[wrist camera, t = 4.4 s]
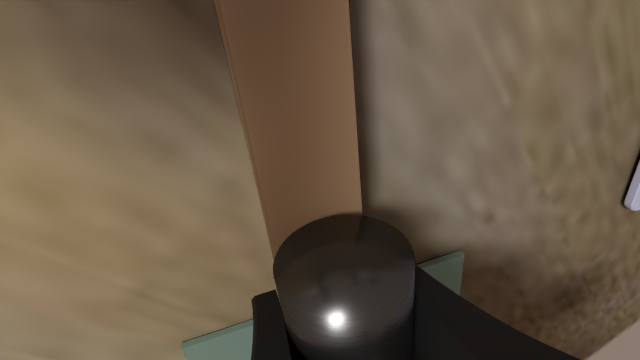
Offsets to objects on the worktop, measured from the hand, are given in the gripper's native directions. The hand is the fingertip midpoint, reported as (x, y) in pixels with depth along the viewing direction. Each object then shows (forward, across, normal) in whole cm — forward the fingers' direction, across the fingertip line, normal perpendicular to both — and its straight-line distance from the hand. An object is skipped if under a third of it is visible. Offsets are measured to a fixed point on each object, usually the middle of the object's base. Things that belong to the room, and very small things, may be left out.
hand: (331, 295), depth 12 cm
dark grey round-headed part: (+1, 0, +2) cm, 3 cm away
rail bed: (+2, 0, -5) cm, 5 cm away
